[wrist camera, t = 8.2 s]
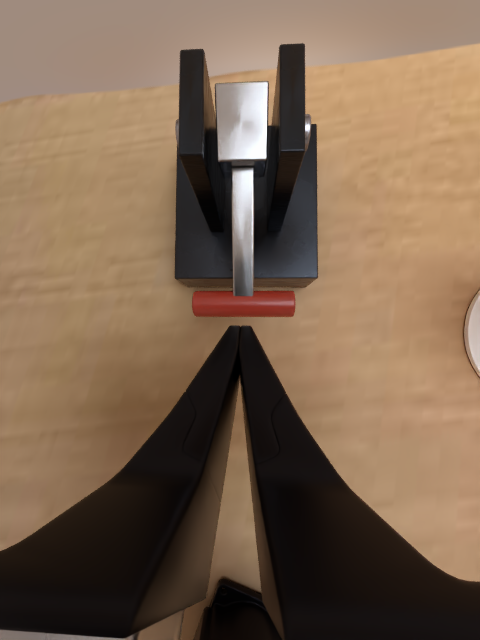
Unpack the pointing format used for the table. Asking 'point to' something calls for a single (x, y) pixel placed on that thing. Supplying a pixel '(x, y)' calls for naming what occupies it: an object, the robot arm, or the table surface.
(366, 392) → the table surface
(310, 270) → the lever base unit
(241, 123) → the switch lever
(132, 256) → the table surface
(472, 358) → the panda figurine
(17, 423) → the table surface
